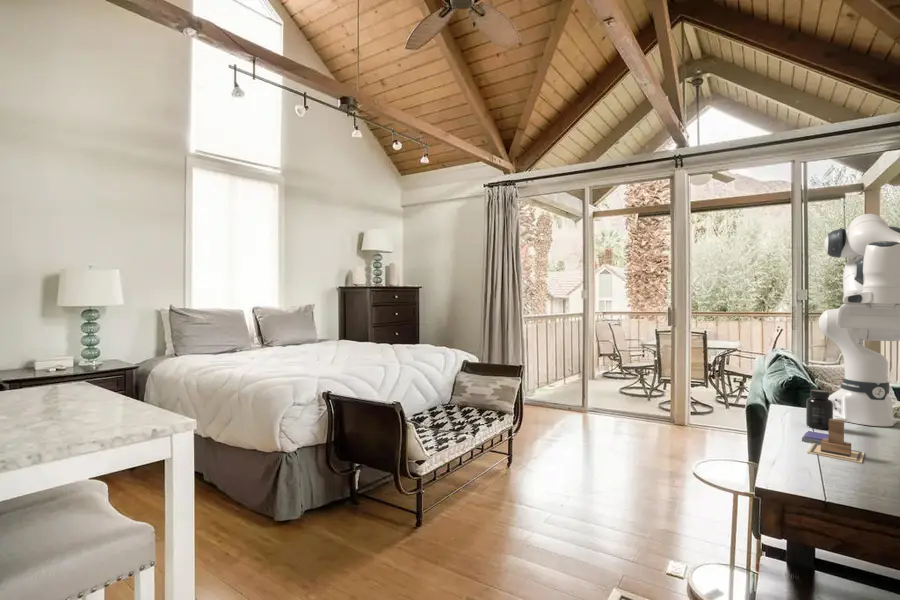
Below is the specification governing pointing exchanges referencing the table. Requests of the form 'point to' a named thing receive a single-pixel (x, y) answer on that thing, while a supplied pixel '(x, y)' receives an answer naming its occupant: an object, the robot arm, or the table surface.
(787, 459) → the table surface
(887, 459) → the table surface
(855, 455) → the marked card
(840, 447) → the stamp
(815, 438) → the ink pad
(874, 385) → the robot arm
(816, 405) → the supplement bottle
